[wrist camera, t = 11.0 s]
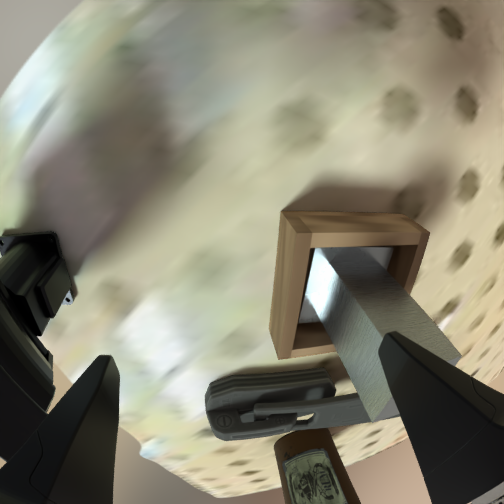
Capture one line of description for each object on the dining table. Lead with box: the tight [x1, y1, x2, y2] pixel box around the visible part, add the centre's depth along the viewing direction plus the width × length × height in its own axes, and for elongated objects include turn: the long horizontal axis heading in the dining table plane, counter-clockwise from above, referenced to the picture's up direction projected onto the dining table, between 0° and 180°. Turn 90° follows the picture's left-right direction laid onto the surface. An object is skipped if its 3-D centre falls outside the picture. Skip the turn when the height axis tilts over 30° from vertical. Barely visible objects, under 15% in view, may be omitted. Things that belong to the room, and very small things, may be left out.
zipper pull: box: [205, 368, 400, 441], centre depth 29 cm, size 9×7×25 cm
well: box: [269, 211, 430, 360], centre depth 22 cm, size 11×11×4 cm
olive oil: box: [274, 428, 361, 504], centre depth 29 cm, size 11×11×25 cm
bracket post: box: [298, 245, 462, 423], centre depth 18 cm, size 7×7×12 cm
